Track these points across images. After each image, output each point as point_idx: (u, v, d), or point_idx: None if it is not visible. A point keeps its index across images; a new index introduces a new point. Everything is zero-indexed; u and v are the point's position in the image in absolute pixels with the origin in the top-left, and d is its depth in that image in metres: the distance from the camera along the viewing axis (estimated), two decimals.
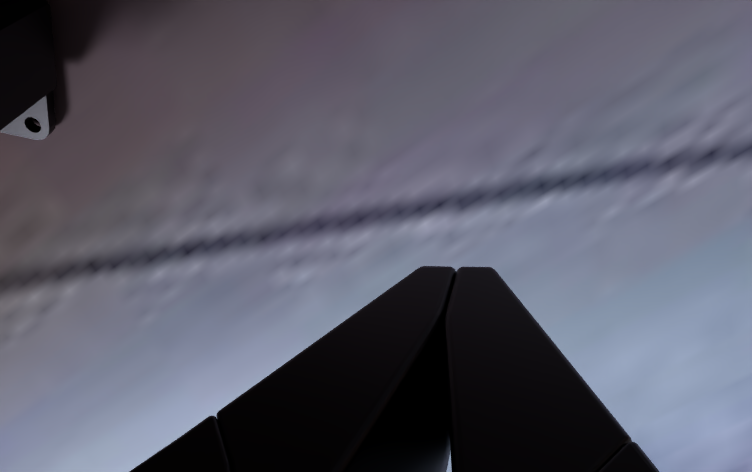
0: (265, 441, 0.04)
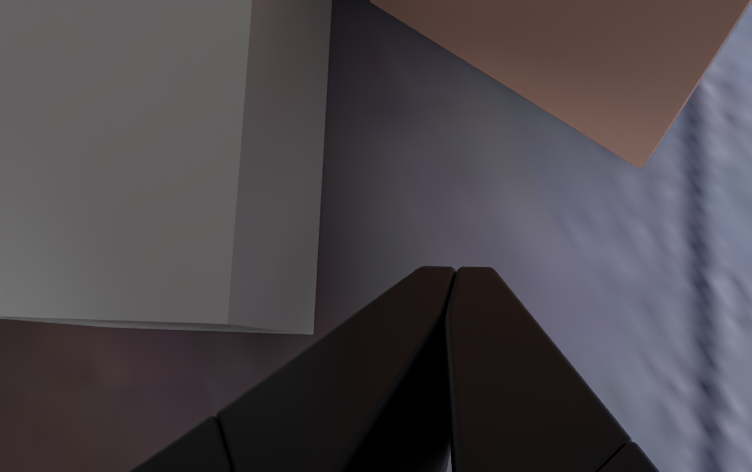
0: (265, 440, 0.04)
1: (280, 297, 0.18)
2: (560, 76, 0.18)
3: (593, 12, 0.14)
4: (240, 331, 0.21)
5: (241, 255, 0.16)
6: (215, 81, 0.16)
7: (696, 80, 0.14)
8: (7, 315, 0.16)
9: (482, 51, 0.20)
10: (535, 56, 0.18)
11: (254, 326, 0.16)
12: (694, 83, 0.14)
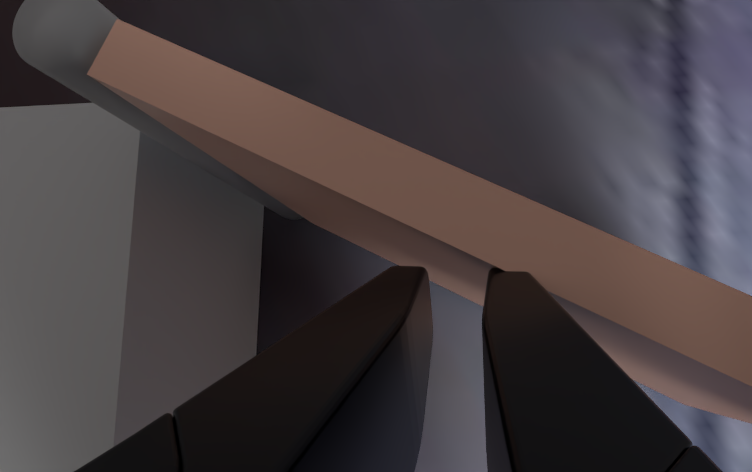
0: (216, 437, 0.04)
1: None
2: None
3: (629, 355, 0.10)
4: None
5: None
6: (72, 458, 0.12)
7: None
8: None
9: (464, 294, 0.16)
10: None
11: None
12: None
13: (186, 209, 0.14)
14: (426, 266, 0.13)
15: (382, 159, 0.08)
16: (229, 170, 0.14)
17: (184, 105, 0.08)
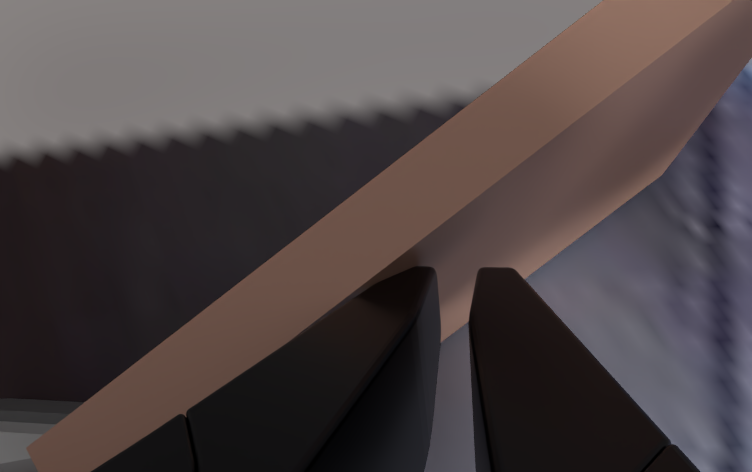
0: (231, 438, 0.04)
1: None
2: (572, 225, 0.13)
3: (623, 147, 0.10)
4: None
5: None
6: None
7: None
8: None
9: None
10: (541, 247, 0.13)
11: None
12: (751, 56, 0.10)
13: None
14: None
15: (341, 233, 0.07)
16: None
17: (164, 416, 0.07)
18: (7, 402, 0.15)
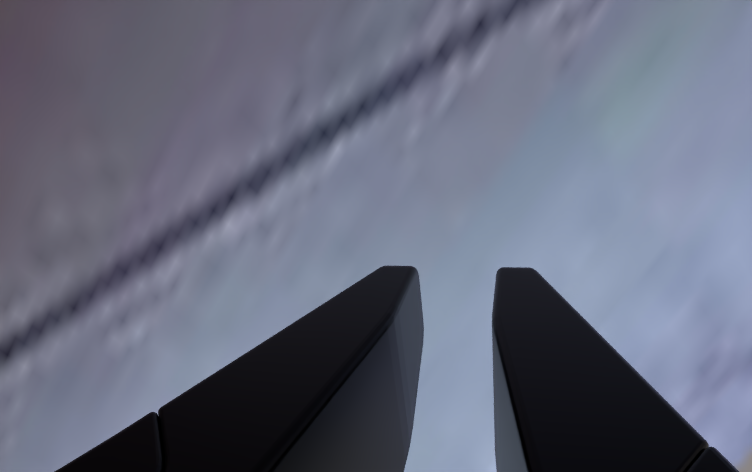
0: (200, 436, 0.04)
1: None
2: None
3: None
4: None
5: None
6: None
7: None
8: None
9: None
10: None
11: None
12: None
13: None
14: None
15: None
16: None
17: None
18: None
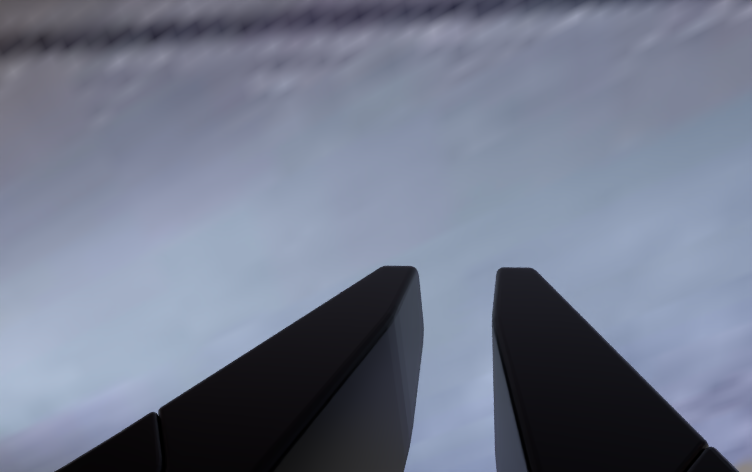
0: (200, 436, 0.04)
1: None
2: None
3: None
4: None
5: None
6: None
7: None
8: None
9: None
10: None
11: None
12: None
13: None
14: None
15: None
16: None
17: None
18: None
